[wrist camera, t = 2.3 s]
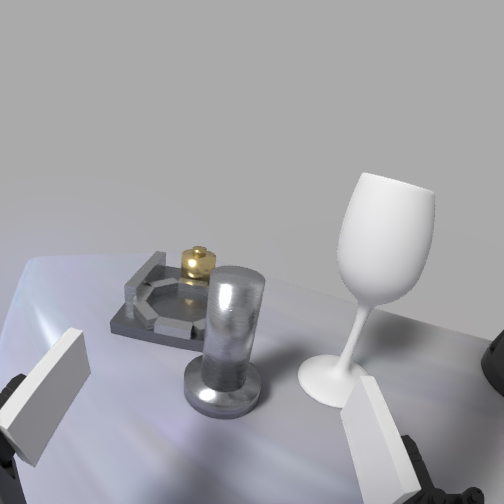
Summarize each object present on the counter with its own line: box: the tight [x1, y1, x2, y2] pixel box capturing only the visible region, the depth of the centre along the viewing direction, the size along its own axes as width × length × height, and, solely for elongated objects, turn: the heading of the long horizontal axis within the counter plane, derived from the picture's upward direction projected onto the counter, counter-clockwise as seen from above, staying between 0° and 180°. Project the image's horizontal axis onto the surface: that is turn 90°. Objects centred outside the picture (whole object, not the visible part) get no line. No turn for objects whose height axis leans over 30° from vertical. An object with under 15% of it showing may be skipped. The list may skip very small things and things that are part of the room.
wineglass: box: [298, 173, 435, 408], centre depth 25 cm, size 9×9×21 cm
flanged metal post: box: [184, 266, 265, 419], centre depth 23 cm, size 7×7×12 cm
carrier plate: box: [110, 246, 216, 352], centre depth 37 cm, size 14×18×6 cm
